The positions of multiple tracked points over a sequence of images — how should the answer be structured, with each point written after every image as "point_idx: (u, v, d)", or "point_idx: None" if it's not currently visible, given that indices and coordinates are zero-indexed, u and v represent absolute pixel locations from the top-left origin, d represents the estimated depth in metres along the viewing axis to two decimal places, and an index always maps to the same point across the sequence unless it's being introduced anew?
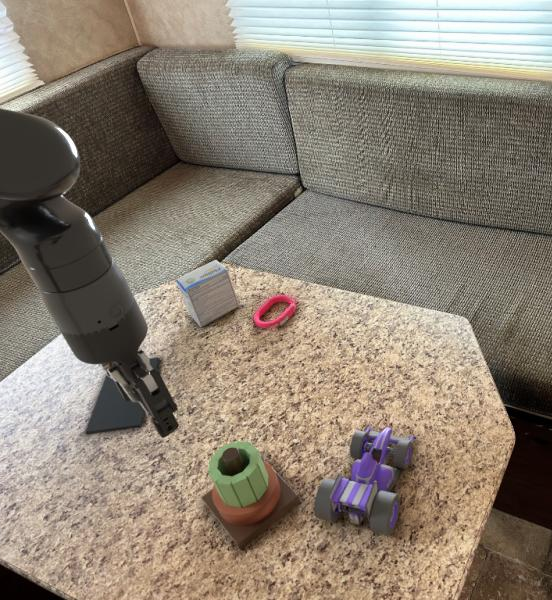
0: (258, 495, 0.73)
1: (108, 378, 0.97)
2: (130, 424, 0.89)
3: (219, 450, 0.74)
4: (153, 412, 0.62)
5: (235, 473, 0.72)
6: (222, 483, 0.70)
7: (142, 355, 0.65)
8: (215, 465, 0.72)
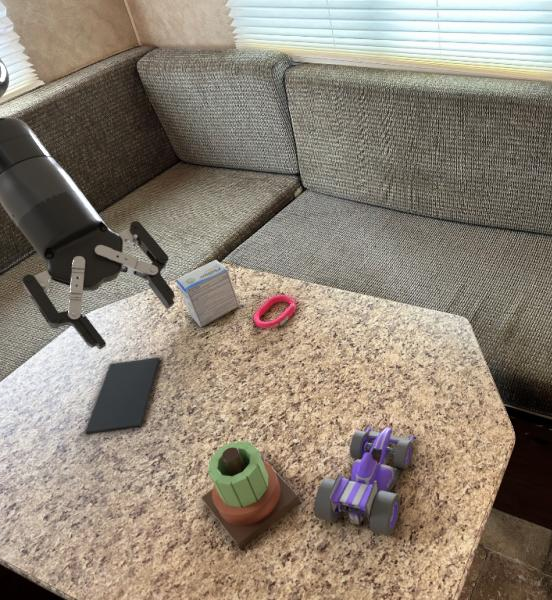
0: (258, 495, 0.73)
1: (108, 378, 0.97)
2: (130, 424, 0.89)
3: (219, 450, 0.74)
4: (160, 247, 0.71)
5: (235, 473, 0.72)
6: (222, 483, 0.70)
7: None
8: (215, 465, 0.72)
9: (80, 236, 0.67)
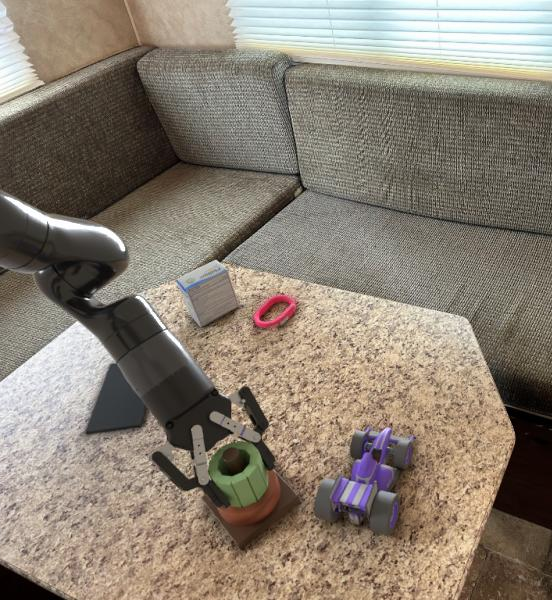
0: (258, 495, 0.73)
1: (108, 378, 0.97)
2: (130, 424, 0.89)
3: (219, 450, 0.74)
4: (263, 413, 0.76)
5: (235, 473, 0.72)
6: (222, 483, 0.70)
7: None
8: (215, 465, 0.72)
9: (196, 404, 0.72)
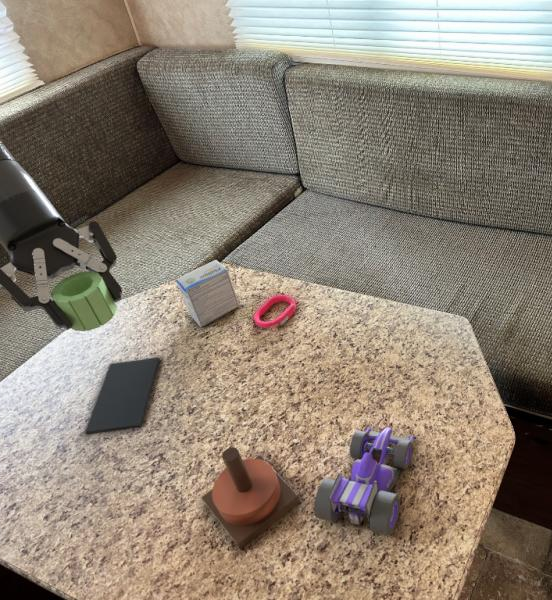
0: (102, 320, 0.77)
1: (108, 378, 0.97)
2: (130, 424, 0.89)
3: (65, 278, 0.78)
4: (111, 247, 0.80)
5: (235, 473, 0.72)
6: (61, 301, 0.74)
7: None
8: (58, 289, 0.76)
9: (39, 230, 0.76)
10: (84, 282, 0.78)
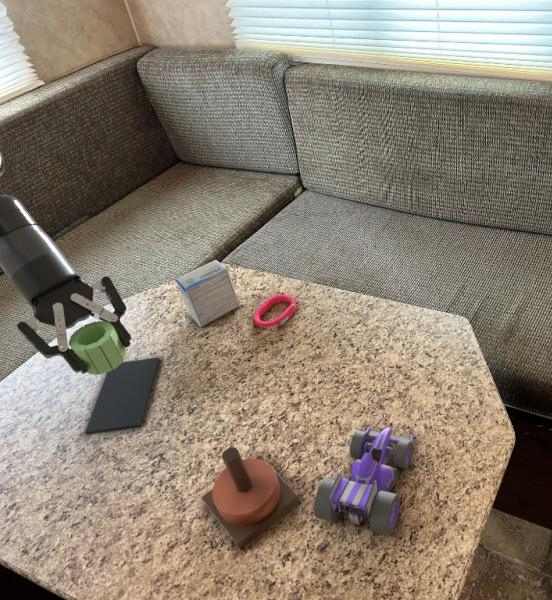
0: (113, 365, 0.88)
1: (108, 378, 0.97)
2: (130, 424, 0.89)
3: (81, 327, 0.88)
4: (121, 299, 0.90)
5: (235, 473, 0.72)
6: (78, 350, 0.84)
7: None
8: (75, 338, 0.86)
9: (59, 286, 0.86)
10: (97, 331, 0.89)
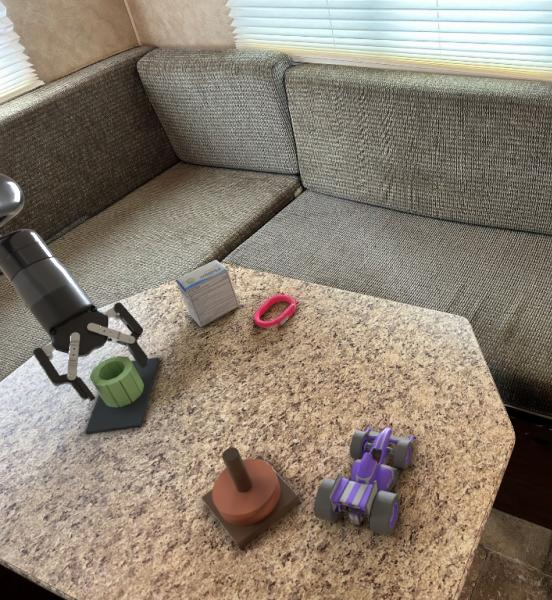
0: (132, 398, 0.92)
1: None
2: (130, 424, 0.89)
3: (101, 362, 0.93)
4: (136, 321, 0.94)
5: (235, 473, 0.72)
6: (99, 385, 0.89)
7: None
8: (96, 373, 0.91)
9: (76, 316, 0.90)
10: (117, 365, 0.93)
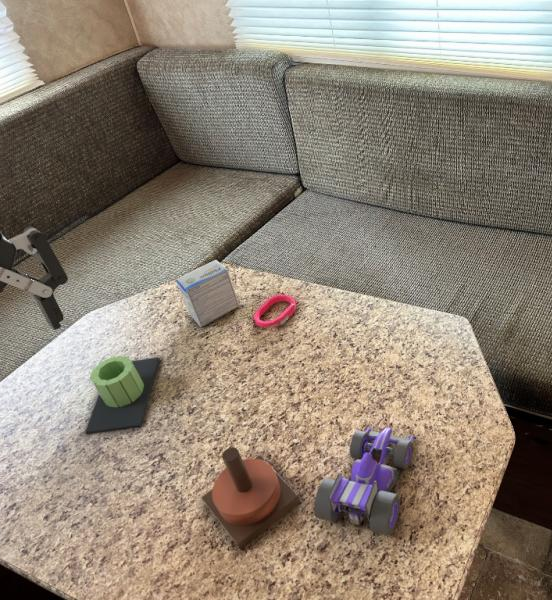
0: (132, 398, 0.92)
1: None
2: (130, 424, 0.89)
3: (101, 362, 0.93)
4: (60, 265, 0.61)
5: (235, 473, 0.72)
6: (99, 385, 0.89)
7: None
8: (96, 373, 0.91)
9: None
10: (117, 365, 0.93)
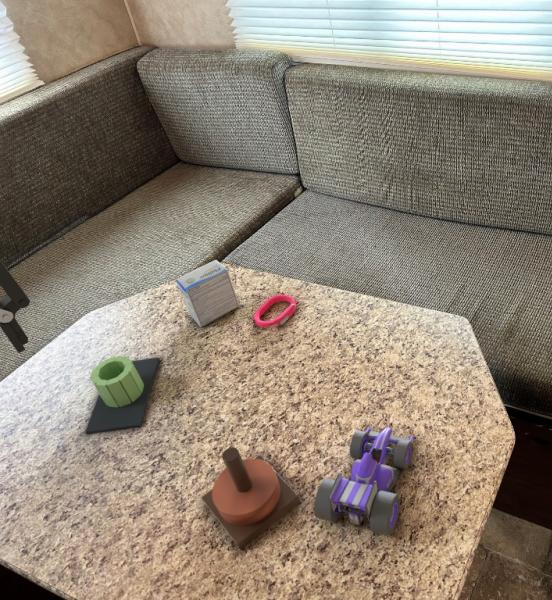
0: (132, 398, 0.92)
1: None
2: (130, 424, 0.89)
3: (101, 362, 0.93)
4: None
5: (235, 473, 0.72)
6: (99, 385, 0.89)
7: None
8: (96, 373, 0.91)
9: None
10: (117, 365, 0.93)
